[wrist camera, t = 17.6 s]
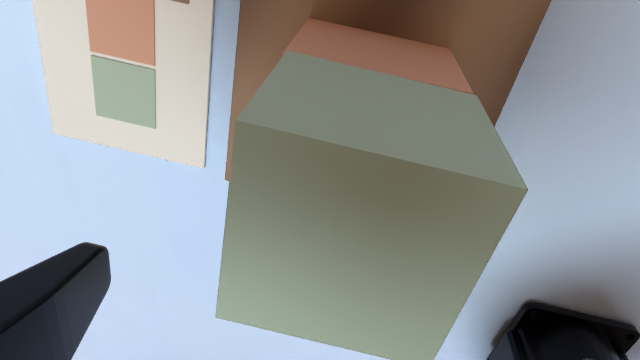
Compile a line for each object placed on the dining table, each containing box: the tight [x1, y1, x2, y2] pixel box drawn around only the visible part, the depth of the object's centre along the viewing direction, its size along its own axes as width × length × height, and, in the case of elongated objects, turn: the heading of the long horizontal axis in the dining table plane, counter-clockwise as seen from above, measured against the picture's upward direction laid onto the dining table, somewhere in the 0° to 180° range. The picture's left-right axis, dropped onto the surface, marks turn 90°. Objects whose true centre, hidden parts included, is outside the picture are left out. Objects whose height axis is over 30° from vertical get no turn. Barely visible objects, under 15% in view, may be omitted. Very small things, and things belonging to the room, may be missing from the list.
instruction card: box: [32, 0, 215, 168], centre depth 20 cm, size 8×10×1 cm
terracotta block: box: [283, 18, 474, 94], centre depth 16 cm, size 6×6×5 cm
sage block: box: [215, 50, 528, 360], centre depth 11 cm, size 6×6×5 cm
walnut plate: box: [225, 0, 551, 181], centre depth 18 cm, size 11×11×2 cm
